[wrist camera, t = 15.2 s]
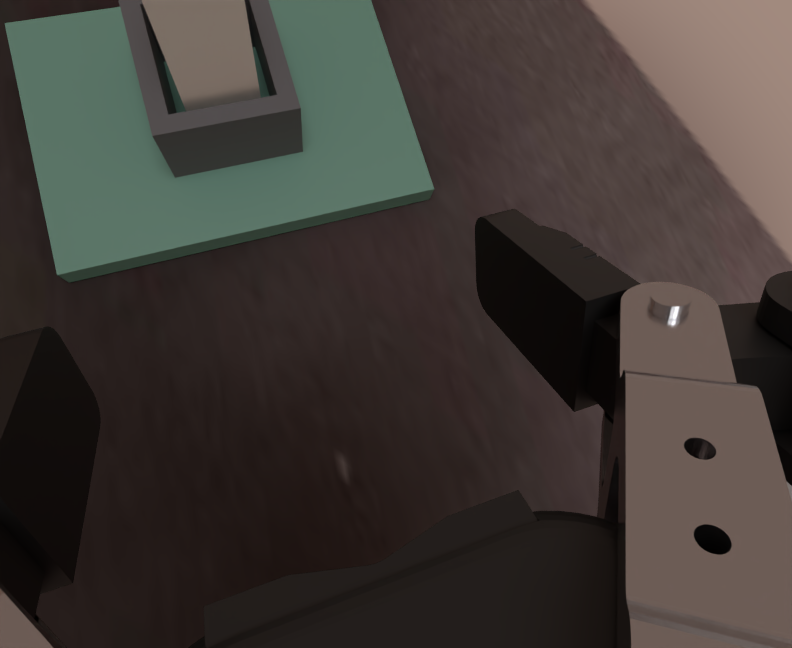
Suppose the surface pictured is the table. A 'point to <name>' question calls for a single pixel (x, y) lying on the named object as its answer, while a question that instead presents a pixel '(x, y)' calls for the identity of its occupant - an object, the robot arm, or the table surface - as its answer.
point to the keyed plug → (206, 50)
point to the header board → (209, 134)
